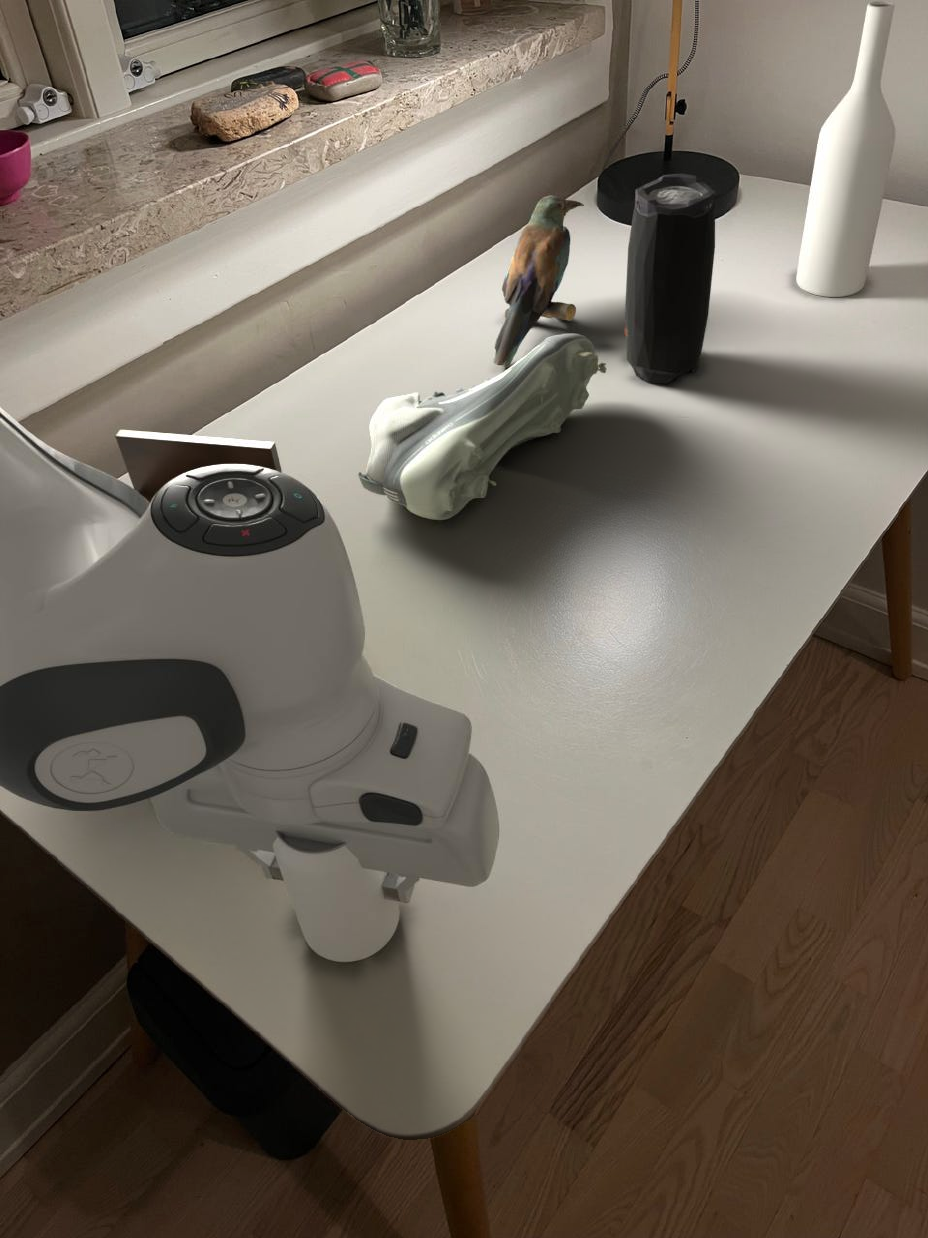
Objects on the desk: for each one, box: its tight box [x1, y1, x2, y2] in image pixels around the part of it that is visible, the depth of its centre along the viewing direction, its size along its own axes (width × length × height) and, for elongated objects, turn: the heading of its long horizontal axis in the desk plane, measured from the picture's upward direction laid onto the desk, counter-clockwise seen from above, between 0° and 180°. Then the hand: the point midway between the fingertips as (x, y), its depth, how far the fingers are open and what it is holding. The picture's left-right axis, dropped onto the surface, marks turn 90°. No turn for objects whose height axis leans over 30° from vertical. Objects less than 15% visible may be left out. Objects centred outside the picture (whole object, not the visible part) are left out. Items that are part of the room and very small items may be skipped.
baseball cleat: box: [357, 333, 607, 521], centre depth 102 cm, size 10×29×15 cm
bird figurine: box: [493, 194, 585, 369], centre depth 118 cm, size 13×10×20 cm
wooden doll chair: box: [114, 429, 283, 502], centre depth 85 cm, size 14×12×14 cm
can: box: [273, 831, 400, 963], centre depth 63 cm, size 6×6×12 cm
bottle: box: [795, 0, 896, 298], centre depth 115 cm, size 8×8×30 cm
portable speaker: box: [624, 173, 717, 385], centre depth 107 cm, size 9×9×20 cm
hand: (341, 881), depth 64 cm, fingers closed on can, 6 cm apart
